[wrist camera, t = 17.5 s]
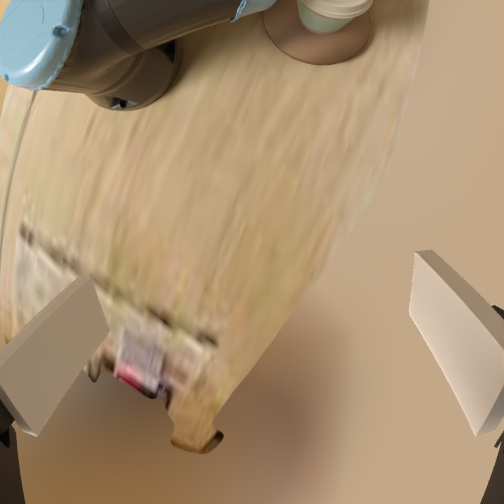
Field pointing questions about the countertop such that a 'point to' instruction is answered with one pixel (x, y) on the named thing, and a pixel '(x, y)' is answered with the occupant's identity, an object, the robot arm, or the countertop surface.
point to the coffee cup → (330, 13)
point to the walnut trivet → (313, 35)
